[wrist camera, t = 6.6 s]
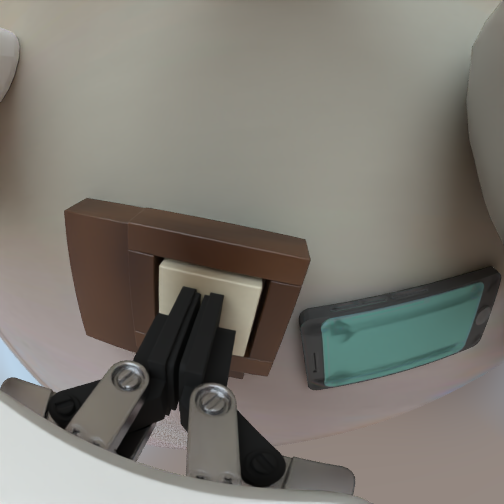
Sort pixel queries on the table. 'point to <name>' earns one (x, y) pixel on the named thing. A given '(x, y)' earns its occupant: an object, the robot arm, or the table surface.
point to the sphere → (488, 114)
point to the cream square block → (216, 281)
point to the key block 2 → (181, 249)
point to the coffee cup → (7, 59)
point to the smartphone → (396, 329)
